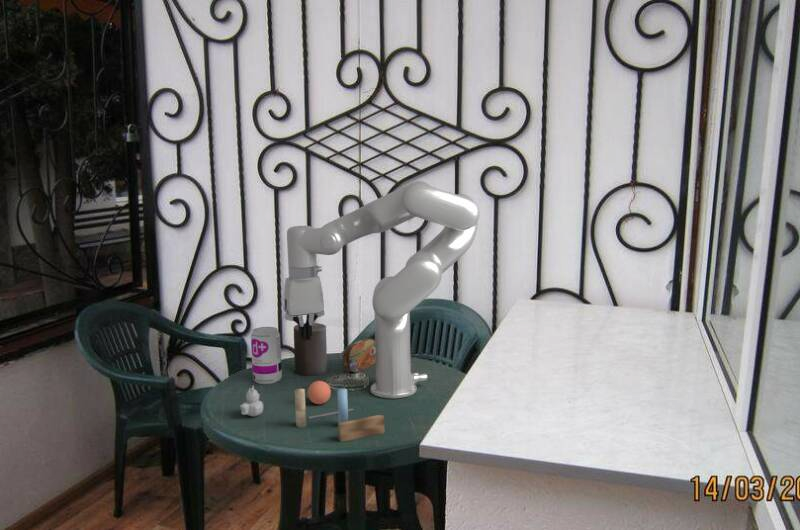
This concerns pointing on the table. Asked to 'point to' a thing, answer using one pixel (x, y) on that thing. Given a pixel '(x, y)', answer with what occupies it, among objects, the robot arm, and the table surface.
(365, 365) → the tin
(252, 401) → the white figurine
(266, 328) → the supplement can
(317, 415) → the lane line
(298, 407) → the birch pin
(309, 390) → the ball
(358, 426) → the back rail
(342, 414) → the pin
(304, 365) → the pillar candle
